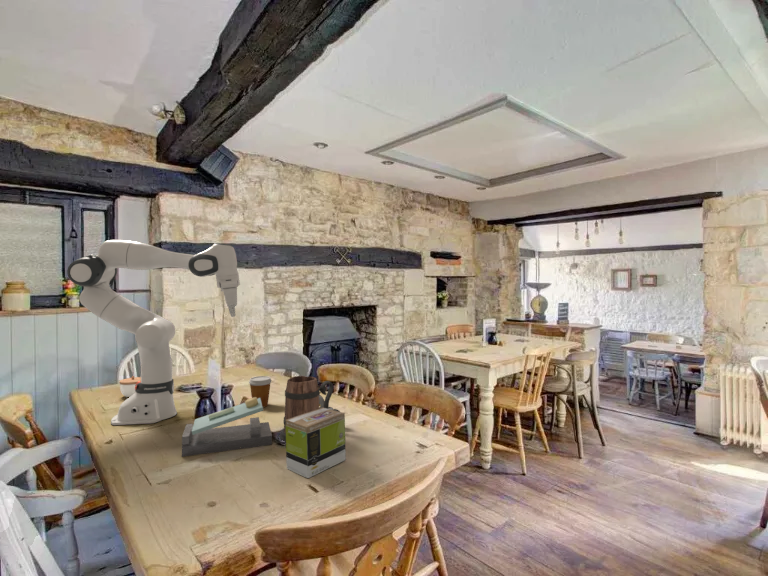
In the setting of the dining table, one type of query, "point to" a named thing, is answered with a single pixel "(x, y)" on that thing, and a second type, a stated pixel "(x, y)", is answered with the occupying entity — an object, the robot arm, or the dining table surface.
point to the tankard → (303, 398)
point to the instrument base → (226, 438)
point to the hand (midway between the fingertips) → (232, 315)
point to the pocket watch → (322, 402)
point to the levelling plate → (227, 415)
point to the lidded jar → (128, 386)
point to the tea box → (315, 441)
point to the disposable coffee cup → (260, 388)
